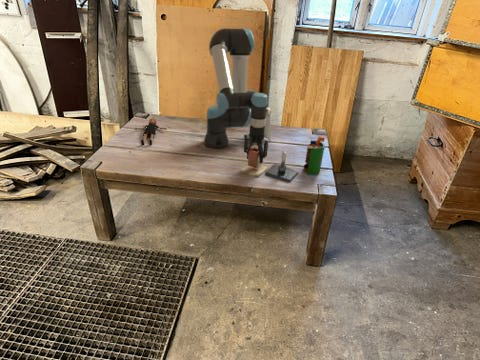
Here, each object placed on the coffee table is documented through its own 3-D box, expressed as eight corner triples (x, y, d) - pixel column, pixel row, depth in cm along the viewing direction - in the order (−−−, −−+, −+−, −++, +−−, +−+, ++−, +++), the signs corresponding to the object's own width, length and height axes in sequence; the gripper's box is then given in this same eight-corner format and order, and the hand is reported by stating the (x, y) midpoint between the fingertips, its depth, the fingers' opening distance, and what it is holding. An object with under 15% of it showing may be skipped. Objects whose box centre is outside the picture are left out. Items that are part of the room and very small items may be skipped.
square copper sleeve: (247, 165, 170) (248, 150, 165) (252, 162, 173) (253, 147, 169) (256, 168, 168) (257, 152, 163) (260, 164, 171) (262, 149, 167)
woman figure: (128, 140, 188) (137, 116, 216) (129, 148, 191) (138, 124, 220) (163, 139, 190) (167, 116, 219) (164, 148, 193) (168, 124, 222)
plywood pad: (240, 171, 170) (240, 169, 170) (249, 163, 178) (250, 161, 178) (258, 177, 166) (258, 175, 165) (267, 168, 174) (267, 167, 173)
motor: (301, 165, 179) (306, 132, 168) (316, 165, 180) (323, 132, 169) (305, 175, 170) (312, 140, 160) (322, 175, 171) (329, 140, 161)
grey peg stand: (265, 174, 169) (267, 153, 162) (274, 166, 177) (276, 145, 171) (289, 182, 163) (293, 160, 157) (297, 173, 171) (301, 152, 165)
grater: (270, 141, 205) (273, 111, 195) (254, 140, 205) (256, 110, 195) (269, 135, 214) (272, 106, 204) (253, 134, 214) (256, 105, 204)
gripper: (238, 123, 160) (236, 164, 172) (270, 132, 152) (266, 174, 164) (245, 119, 165) (243, 159, 177) (277, 127, 158) (272, 168, 170)
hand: (254, 166), depth 171 cm, fingers closed on square copper sleeve, 5 cm apart
